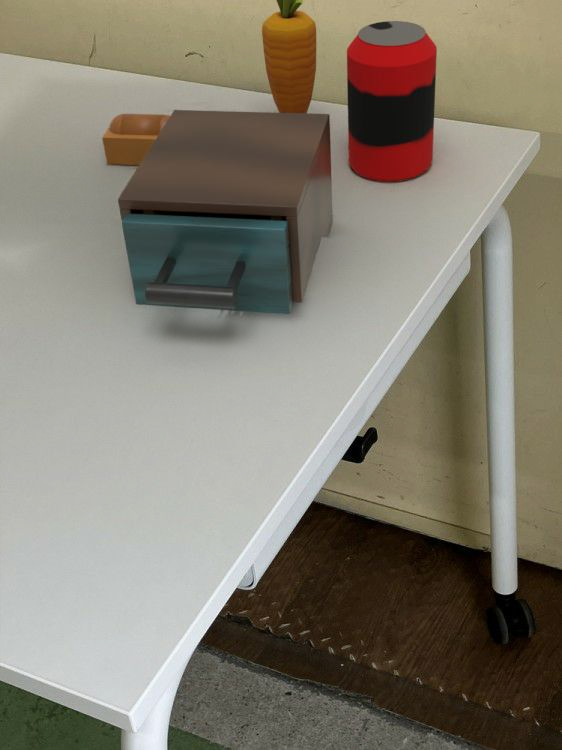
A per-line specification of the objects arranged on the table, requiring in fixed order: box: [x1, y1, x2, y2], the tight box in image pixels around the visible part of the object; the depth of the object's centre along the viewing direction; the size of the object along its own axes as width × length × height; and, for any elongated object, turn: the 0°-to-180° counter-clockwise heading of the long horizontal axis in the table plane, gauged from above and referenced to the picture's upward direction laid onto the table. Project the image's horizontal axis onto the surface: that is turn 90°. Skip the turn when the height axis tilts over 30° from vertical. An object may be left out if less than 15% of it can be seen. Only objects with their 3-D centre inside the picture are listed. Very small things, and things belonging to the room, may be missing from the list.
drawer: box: [121, 210, 294, 315], centre depth 74 cm, size 18×11×8 cm, turn 169°
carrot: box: [261, 0, 317, 113], centre depth 93 cm, size 5×5×15 cm
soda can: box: [346, 20, 438, 183], centre depth 88 cm, size 8×8×12 cm
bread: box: [101, 113, 171, 166], centre depth 95 cm, size 7×4×4 cm, turn 79°
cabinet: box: [117, 109, 334, 303], centre depth 77 cm, size 15×13×10 cm
